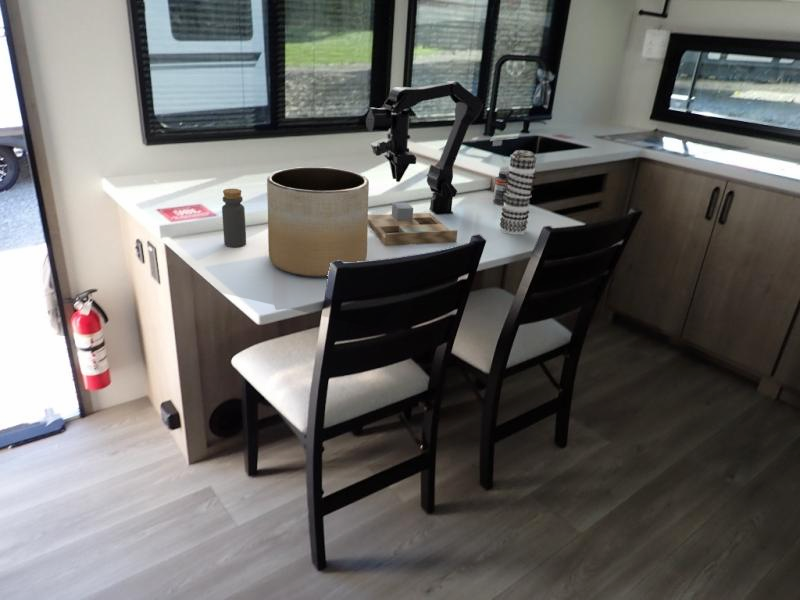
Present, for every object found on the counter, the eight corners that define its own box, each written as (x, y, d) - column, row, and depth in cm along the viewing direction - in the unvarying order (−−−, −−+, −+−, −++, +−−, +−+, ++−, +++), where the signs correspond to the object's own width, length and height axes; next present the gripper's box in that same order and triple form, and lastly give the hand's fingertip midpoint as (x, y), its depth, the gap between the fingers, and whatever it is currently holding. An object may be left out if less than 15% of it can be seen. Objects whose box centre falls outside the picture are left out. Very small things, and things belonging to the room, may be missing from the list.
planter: (299, 238, 169) (298, 162, 160) (380, 254, 162) (384, 175, 152) (249, 268, 147) (245, 181, 138) (341, 288, 140) (343, 198, 131)
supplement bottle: (500, 199, 221) (504, 169, 216) (512, 203, 217) (516, 173, 212) (489, 201, 217) (493, 171, 212) (501, 206, 213) (505, 175, 208)
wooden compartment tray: (429, 218, 194) (430, 208, 192) (456, 242, 175) (457, 230, 173) (365, 221, 187) (365, 210, 186) (385, 246, 168) (386, 234, 166)
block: (406, 214, 190) (407, 202, 188) (412, 220, 185) (413, 208, 183) (391, 215, 188) (392, 203, 186) (397, 221, 183) (398, 208, 181)
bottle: (226, 240, 164) (223, 187, 158) (248, 240, 165) (245, 188, 158) (222, 247, 159) (218, 193, 153) (244, 248, 160) (241, 194, 153)
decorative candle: (531, 235, 185) (544, 155, 174) (503, 235, 183) (514, 154, 173) (521, 226, 193) (533, 149, 182) (494, 225, 192) (505, 148, 181)
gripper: (366, 125, 188) (364, 173, 194) (382, 136, 172) (380, 188, 178) (399, 125, 191) (396, 173, 198) (418, 136, 175) (414, 187, 182)
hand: (396, 180), depth 189 cm, fingers open, 3 cm apart
